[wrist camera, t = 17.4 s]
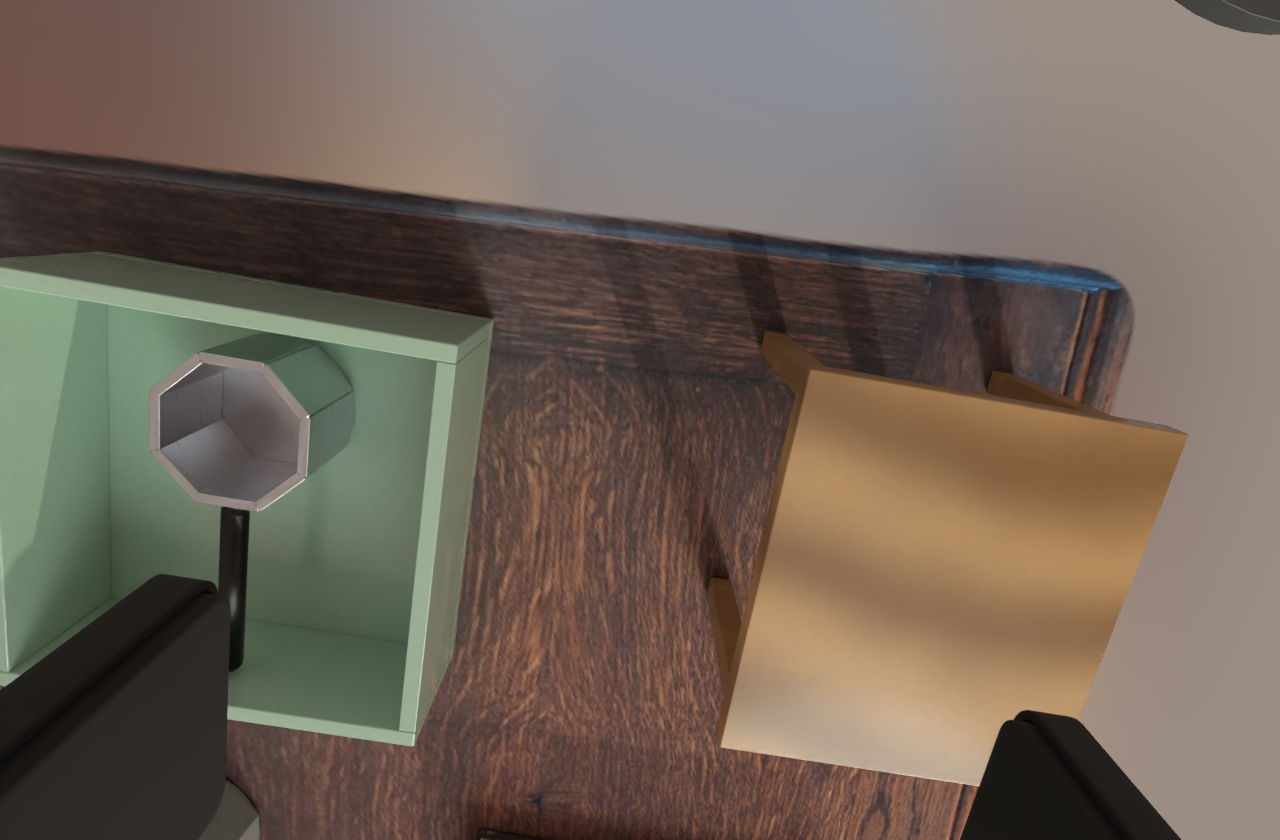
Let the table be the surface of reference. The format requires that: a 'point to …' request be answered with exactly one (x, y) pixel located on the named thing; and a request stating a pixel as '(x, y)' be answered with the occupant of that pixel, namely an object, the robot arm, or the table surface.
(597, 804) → the table surface
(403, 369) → the basin
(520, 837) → the hardcover book
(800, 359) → the stand
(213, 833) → the coffeepot
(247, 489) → the saucepan
